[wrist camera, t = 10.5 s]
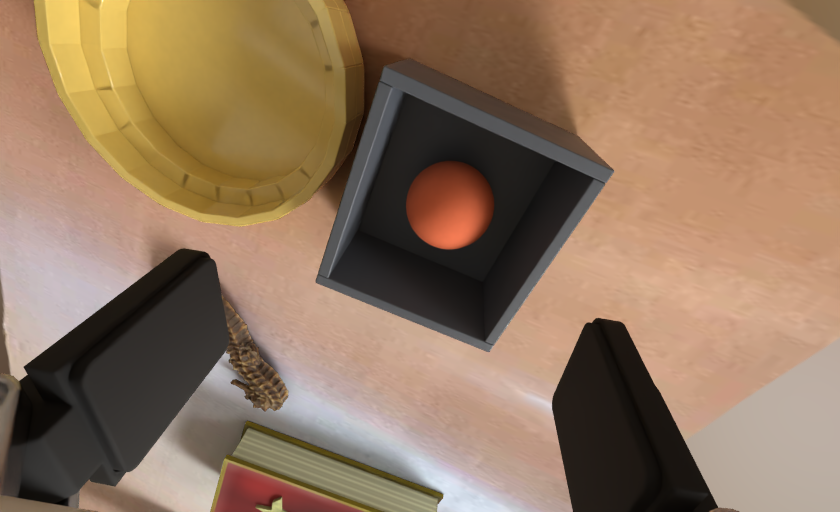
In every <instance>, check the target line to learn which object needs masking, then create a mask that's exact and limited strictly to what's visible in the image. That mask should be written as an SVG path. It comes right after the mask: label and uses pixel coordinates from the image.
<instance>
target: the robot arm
mask: <svg viewBox="0 0 840 512" xmlns="http://www.w3.org/2000/svg"><path fill="white" fill-rule="evenodd" d="M228 344H229V332H228V327H227V321H226V316H225V310H224V305H223V299H222V294H221V289H220V283H219V278H218V272H217V267H216V263H215V261H214V260H213V259H211V258H210V256H209V254H208V253H206V252H202V251H197V250H191V249H185V248H184V249H180V250H178V251H176V252H175V253H174V254H172V255H171V256H170V257H168V258H167V259H166V260H164V261H163V262H162V263H160V264H159V265H158V266H156V267H155V268H154V269H152V270H151V271H150V272H148V273H147V274H146V275H144V276H143V277H142V278H141V279H139V280H138V281H137V282H135V283H134V284H133V285H131V286H130V287H129V288H127V289H126V290H125V291H123V292H122V293H121V294H119V295H118V296H117V297H115V298H114V299H113V300H111V301H110V302H109V303H107V304H106V305H105V306H103V307H102V308H101V309H100V310H98V311H97V312H96V313H94V314H93V315H92V316H90V317H89V318H88V319H86V320H85V321H84V322H82V323H81V324H80V325H78V326H77V327H76V328H74V329H73V330H72V331H70V332H69V333H68V334H66V335H65V336H64V337H62V338H61V339H60V340H58V341H57V342H56V343H55V344H53V345H52V346H51V347H49V348H48V349H47V350H45V351H44V352H43V353H41V354H40V355H39V356H37V357H36V358H35V359H33V360H32V361H31V362H29V363H28V364H27V365H25V366H24V369H25V370H26V372H27V374H28V375H27V376H25V377H24V378H23V379H21V380H20V381H18V380H17V379H16V378H15V377H14V376H11V375H7V374H4V373H0V512H96V511H90V510H85V509H79V491H80V489H81V488H82V487H83V485H84V484H85V483H86V482H87V481H88V480H90V481H91V482H95V483H100V484H105V485H110V486H116V485H117V483H118V482H119V481H120V480H121V478H122V477H123V476H124V474H125V473H126V472H130V471H132V470H134V469H135V468H136V467H137V466H138V465H139V464H140V462H141V461H142V460H143V458H144V457H145V456H146V454H147V453H148V452H149V450H150V449H151V448H152V447H153V445H154V444H155V443H156V441H157V440H158V439H159V437H160V436H161V435H162V434H163V432H164V431H165V430H166V428H167V427H168V426H169V424H170V423H171V422H172V420H173V419H174V418H175V417H176V415H177V414H178V413H179V411H180V410H181V409H182V407H183V406H184V405H185V403H186V402H187V401H188V400H189V398H190V397H191V396H192V394H193V393H194V392H195V390H196V389H197V388H198V387H199V385H200V384H201V383H202V381H203V380H204V379H205V377H206V376H207V375H208V373H209V372H210V371H211V370H212V368H213V367H214V366H215V364H216V363H217V362H218V360H219V359H220V358H221V356H222V355H223V354H224V353H225V351H226V349H227V347H228ZM552 410H553V415H554V420H555V425H556V430H557V435H558V440H559V445H560V449H561V454H562V459H563V464H564V469H565V474H566V479H567V484H568V489H569V494H570V499H571V504H572V509H573V512H739V511H736V510H733V509H728V508H718V506H717V504H716V502H715V500H714V498H713V496H712V494H711V492H710V490H709V488H708V486H707V484H706V483H705V480H704V479H703V477H702V475H701V473H700V471H699V469H698V467H697V465H696V463H695V461H694V459H693V457H692V455H691V453H690V451H689V449H688V447H687V445H686V443H685V441H684V439H683V437H682V435H681V433H680V431H679V429H678V427H677V425H676V423H675V421H674V419H673V417H672V415H671V413H670V411H669V409H668V407H667V405H666V403H665V401H664V399H663V397H662V395H661V393H660V392H659V390H658V389H657V387H656V386H655V385H654V383H653V381H652V379H651V377H650V375H649V373H648V371H647V369H646V367H645V365H644V363H643V361H642V359H641V357H640V355H639V353H638V351H637V349H636V347H635V345H634V343H633V341H632V339H631V337H630V335H629V333H628V331H627V329H626V327H625V325H624V324H623V323H622V322H619V321H613V320H607V319H601V318H596V319H595V320H594V321H593V322H592V323H586V324H585V326H584V328H583V330H582V332H581V334H580V337H579V339H578V341H577V343H576V346H575V348H574V350H573V352H572V355H571V357H570V359H569V361H568V364H567V366H566V368H565V370H564V373H563V375H562V377H561V379H560V382H559V384H558V386H557V388H556V391H555V393H554V396H553V400H552Z"/></svg>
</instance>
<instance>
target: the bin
mask: <svg viewBox="0 0 840 512" xmlns="http://www.w3.org/2000/svg"><path fill="white" fill-rule="evenodd" d="M443 161H458V162H463V163H466V164H468V165H470V166H472V167H474V168H475V169H477V170H478V171H479V172H480V173H481V174H482V175H483V176H484V177H485V178H486V180H487V181H488V183H489V185H490V187H491V189H492V193H493V197H494V212H493V217H492V220H491V222H490V224H489V227H488V228H487V230H486V231H485V232H484V234H483V235H482V236H481V237H480V238H479V239H478V240H476V241H475V242H473V243H472V244H470V245H468V246H465V247H462V248H458V249H441V248H437V247H434V246H432V245H430V244H428V243H426V242H425V241H423V240H422V239H421V238H420V237H419V236H418V235H417V234H416V233H415V232H414V230H413V229H412V227H411V225H410V223H409V220H408V217H407V211H406V199H407V194H408V191H409V188H410V186H411V184H412V182H413V181H414V180H415V178H416V177H417V176H418V175H419V173H421V172H422V171H423V170H424V169H426V168H427V167H429V166H431V165H433V164H435V163H438V162H443ZM613 173H614V170H613V169H612V168H611V167H610V166H609V165H608V164H607V163H606V162H605V161H604V160H603V159H601V158H600V157H599V156H598V155H597V154H596V153H595V152H594V151H593V150H592V149H591V148H590V147H589V146H588V145H587V144H586V143H585V142H584V141H583V140H582V139H581V138H580V137H579V136H577V135H575V134H572V133H570V132H568V131H566V130H564V129H562V128H559V127H557V126H555V125H553V124H551V123H549V122H546V121H544V120H542V119H540V118H538V117H536V116H533V115H531V114H529V113H527V112H525V111H523V110H520V109H518V108H516V107H514V106H512V105H510V104H507V103H505V102H503V101H501V100H499V99H497V98H494V97H492V96H490V95H488V94H486V93H484V92H482V91H479V90H477V89H475V88H473V87H471V86H469V85H466V84H464V83H462V82H460V81H458V80H456V79H453V78H451V77H449V76H447V75H445V74H443V73H440V72H438V71H436V70H434V69H432V68H430V67H427V66H425V65H423V64H421V63H419V62H417V61H414V60H412V59H410V58H409V59H406V60H402V61H399V62H396V63H392V64H389V65H386V66H384V67H383V70H382V73H381V76H380V81H379V83H378V86H377V89H376V92H375V95H374V99H373V102H372V105H371V108H370V111H369V114H368V117H367V121H366V124H365V127H364V130H363V133H362V136H361V139H360V143H359V146H358V149H357V152H356V155H355V158H354V161H353V165H352V168H351V171H350V174H349V177H348V180H347V183H346V187H345V190H344V193H343V196H342V199H341V202H340V206H339V209H338V212H337V215H336V218H335V221H334V224H333V228H332V231H331V234H330V237H329V240H328V243H327V246H326V250H325V253H324V256H323V259H322V262H321V265H320V268H319V272H318V275H317V278H316V283H318V284H320V285H323V286H325V287H328V288H330V289H333V290H335V291H338V292H340V293H343V294H345V295H348V296H350V297H352V298H355V299H357V300H360V301H362V302H365V303H367V304H370V305H372V306H375V307H377V308H380V309H382V310H385V311H387V312H390V313H392V314H395V315H397V316H400V317H402V318H405V319H407V320H410V321H412V322H415V323H417V324H420V325H422V326H425V327H427V328H430V329H432V330H435V331H437V332H440V333H442V334H444V335H447V336H449V337H452V338H454V339H457V340H459V341H462V342H464V343H467V344H469V345H472V346H474V347H477V348H479V349H482V350H484V351H487V352H490V350H491V349H492V347H493V346H494V344H495V343H496V342H497V340H498V339H499V337H500V336H501V334H502V333H503V332H504V330H505V329H506V327H507V326H508V324H509V323H510V321H511V320H512V319H513V317H514V316H515V314H516V313H517V311H518V310H519V308H520V307H521V306H522V304H523V303H524V301H525V300H526V298H527V297H528V295H529V294H530V293H531V291H532V290H533V288H534V287H535V285H536V284H537V282H538V281H539V280H540V278H541V277H542V275H543V274H544V272H545V271H546V269H547V268H548V267H549V265H550V264H551V262H552V261H553V259H554V258H555V257H556V255H557V254H558V252H559V251H560V249H561V248H562V246H563V245H564V244H565V242H566V241H567V239H568V238H569V236H570V235H571V233H572V232H573V231H574V229H575V228H576V226H577V225H578V223H579V222H580V220H581V219H582V218H583V216H584V215H585V213H586V212H587V210H588V209H589V207H590V206H591V205H592V203H593V202H594V200H595V199H596V197H597V196H598V194H599V193H600V192H601V190H602V189H603V187H604V186H605V183H607V181H608V180H609V179H610V177H611V176H612V174H613Z"/></svg>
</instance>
